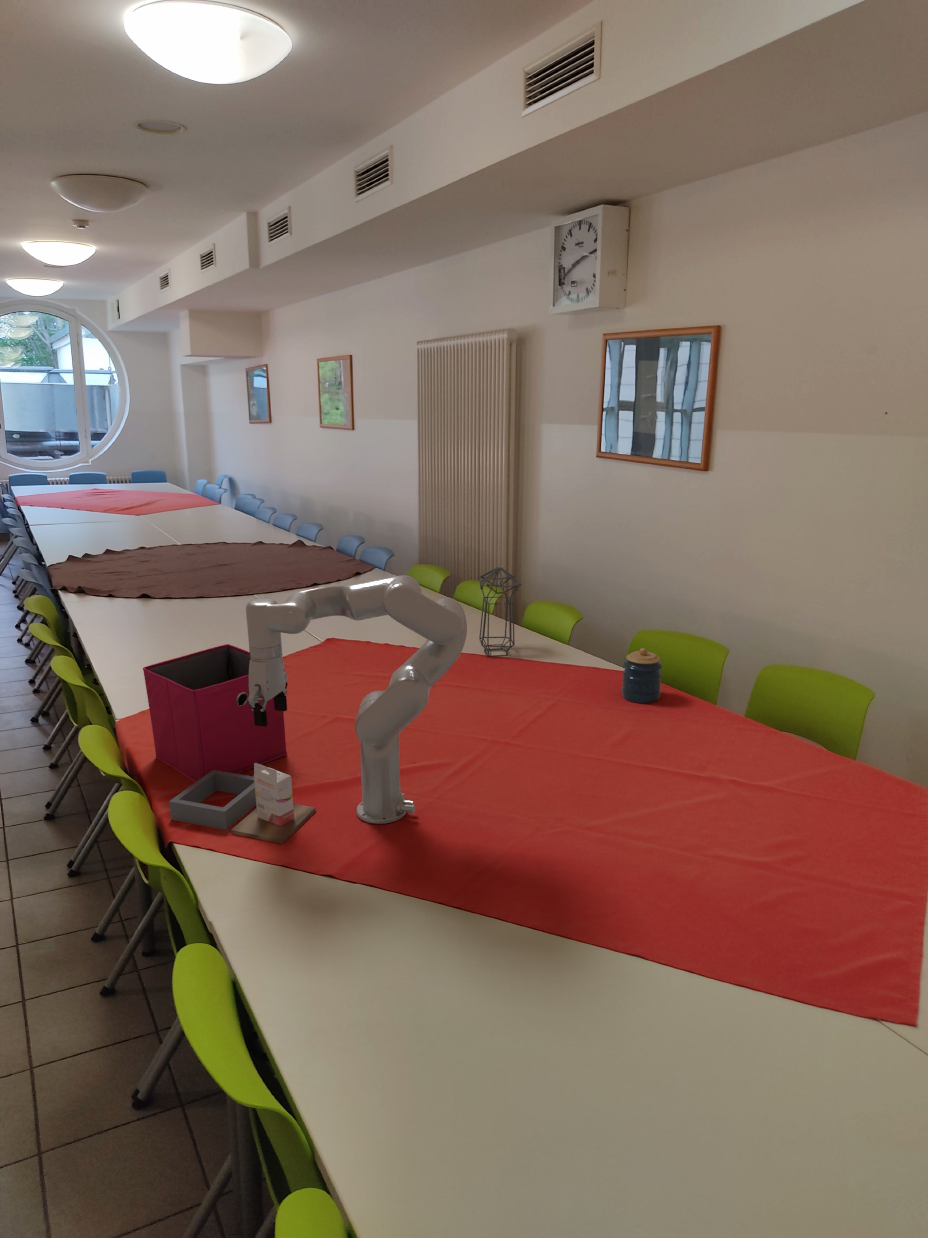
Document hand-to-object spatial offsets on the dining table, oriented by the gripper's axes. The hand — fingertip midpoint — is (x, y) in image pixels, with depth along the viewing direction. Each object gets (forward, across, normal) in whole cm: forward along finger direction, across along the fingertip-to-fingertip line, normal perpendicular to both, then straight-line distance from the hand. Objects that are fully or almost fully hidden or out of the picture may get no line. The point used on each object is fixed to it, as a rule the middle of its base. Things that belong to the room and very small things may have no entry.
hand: (271, 717), depth 199 cm
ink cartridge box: (+25, +4, +1) cm, 25 cm away
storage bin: (+26, -24, -32) cm, 47 cm away
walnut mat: (+26, +4, +1) cm, 26 cm away
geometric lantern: (+26, -139, +23) cm, 143 cm away
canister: (+27, -105, +82) cm, 135 cm away
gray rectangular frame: (+26, +2, -16) cm, 30 cm away
